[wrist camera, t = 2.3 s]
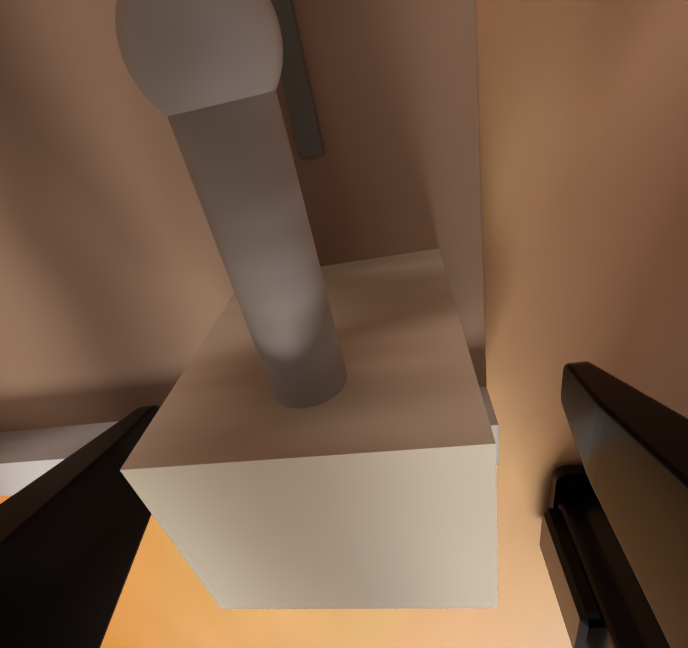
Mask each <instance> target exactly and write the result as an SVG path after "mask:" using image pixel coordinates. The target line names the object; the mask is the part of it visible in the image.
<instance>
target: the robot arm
mask: <svg viewBox="0 0 688 648" xmlns="http://www.w3.org/2000/svg"><path fill="white" fill-rule="evenodd" d="M561 401H562V405H563V408H564V411H565V414H566V417H567V420H568V423H569V426H570V428H571V431H572V434H573V437H574V440H575V443H576V446H577V449H578V451H579V454H580V457H581V460H582V463H583V465H568V466H562V467H559V468H557V469H556V470H555V471H554V472H553V474H552V482H551V493H550V504H549V508H546V509H545V511H544V512H543V514H542V526H541V538H540V547H541V551H542V554H543V557H544V560H545V563H546V566H547V569H548V572H549V576H550V579H551V582H552V585H553V588H554V591H555V594H556V597H557V600H558V604H559V607H560V610H561V613H562V616H563V619H564V622H565V625H566V629H567V632H568V635H569V638H570V641H571V644H572V647H573V648H688V419H687V418H686V417H684V416H682V415H680V414H679V413H677V412H675V411H673V410H672V409H670V408H668V407H666V406H665V405H663V404H661V403H659V402H658V401H656V400H654V399H652V398H651V397H649V396H647V395H645V394H644V393H642V392H640V391H639V390H637V389H635V388H633V387H632V386H630V385H628V384H626V383H625V382H623V381H621V380H619V379H618V378H616V377H614V376H612V375H611V374H609V373H607V372H605V371H604V370H602V369H600V368H598V367H597V366H595V365H593V364H592V363H589V362H575V363H567V364H566V365H565V366H564V369H563V378H562V388H561ZM159 409H160V406H158V405H146V406H141V407H139V408H137V409H136V410H134V411H133V412H131V413H130V414H129V415H127V416H126V417H124V418H123V419H121V420H120V421H119V422H117V423H116V424H114V425H113V426H111V427H110V428H109V429H107V430H106V431H104V432H103V433H101V434H100V435H99V436H97V437H96V438H94V439H93V440H91V441H90V442H89V443H87V444H86V445H84V446H83V447H81V448H80V449H78V450H77V451H76V452H74V453H73V454H71V455H70V456H68V457H67V458H66V459H64V460H63V461H61V462H60V463H58V464H57V465H56V466H54V467H53V468H51V469H50V470H48V471H47V472H46V473H44V474H43V475H41V476H40V477H38V478H37V479H36V480H34V481H33V482H31V483H30V484H28V485H27V486H26V487H24V488H23V489H21V490H20V491H18V492H17V493H16V494H14V495H13V496H11V497H10V498H8V499H7V500H5V501H4V502H3V503H1V504H0V648H100V647H101V644H102V641H103V639H104V636H105V634H106V631H107V628H108V626H109V623H110V621H111V618H112V615H113V613H114V610H115V608H116V605H117V602H118V600H119V597H120V595H121V592H122V589H123V587H124V584H125V582H126V579H127V576H128V574H129V571H130V569H131V566H132V563H133V561H134V558H135V556H136V553H137V550H138V548H139V545H140V543H141V540H142V537H143V535H144V532H145V530H146V527H147V524H148V522H149V519H150V517H151V512H150V511H149V510H148V508H147V507H146V505H145V504H144V503H143V501H142V500H141V499H140V497H139V496H138V494H137V493H136V492H135V490H134V489H133V488H132V486H131V485H130V484H129V482H128V481H127V479H126V478H125V477H124V475H123V474H122V473H121V471H120V469H121V467H122V466H123V464H124V463H125V461H126V460H127V458H128V457H129V455H130V454H131V452H132V450H133V449H134V447H135V446H136V444H137V443H138V441H139V440H140V438H141V437H142V435H143V433H144V432H145V430H146V429H147V427H148V426H149V424H150V423H151V421H152V420H153V418H154V416H155V415H156V413H157V412H158V410H159Z"/></svg>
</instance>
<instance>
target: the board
mask: <svg viewBox="0 0 688 648" xmlns="http://www.w3.org/2000/svg"><path fill="white" fill-rule="evenodd" d="M270 1H271V3H272V5H273V7H274V10H275V12H276V15H277V18H278V22H279V25H280V30H281V35H282V42H283V65H282V71H281V76H280V80H279V83H278V86H277V89H276V93H277V97H278V101H279V105H280V109H281V113H282V117H283V121H284V125H285V128H286V132H287V136H288V140H289V144H290V148H291V152H292V156H293V160H294V164H295V168H296V172H297V176H298V180H299V184H300V188H301V192H302V196H303V200H304V204H305V208H306V212H307V216H308V220H309V224H310V228H311V232H312V236H313V240H314V244H315V248H316V252H317V256H318V260H319V264H320V267H321V266H327V265H334V264H340V263H347V262H353V261H360V260H366V259H373V258H379V257H386V256H392V255H399V254H405V253H412V252H418V251H425V250H431V249H438V248H439V250H440V253H441V257H442V260H443V264H444V267H445V271H446V274H447V278H448V281H449V284H450V288H451V291H452V295H453V298H454V302H455V305H456V309H457V312H458V315H459V319H460V322H461V326H462V329H463V333H464V336H465V339H466V343H467V346H468V350H469V353H470V357H471V360H472V364H473V367H474V370H475V374H476V377H477V381H478V384H479V388H480V391H481V395H482V398H483V401H484V405H485V408H486V412H487V415H488V419H489V422H490V426H491V429H492V432H493V436H494V439H495V443H496V465H499V451H498V422H497V419H496V416H495V413H494V410H493V406H492V403H491V400H490V397H489V394H488V390H487V387H486V357H485V321H484V286H483V250H482V214H481V179H480V143H479V107H478V72H477V36H476V1H475V0H270ZM116 2H117V0H0V496H9V495H14V494H16V493H17V492H18V491H20V490H21V489H23V488H24V487H26V486H27V485H28V484H30V483H31V482H33V481H34V480H36V479H37V478H38V477H40V476H41V475H43V474H44V473H46V472H47V471H48V470H50V469H51V468H53V467H54V466H56V465H57V464H58V463H60V462H61V461H63V460H64V459H66V458H67V457H68V456H70V455H71V454H73V453H74V452H76V451H77V450H78V449H80V448H81V447H83V446H84V445H86V444H87V443H89V442H90V441H91V440H93V439H94V438H96V437H97V436H99V435H100V434H101V433H103V432H104V431H106V430H107V429H109V428H110V427H111V426H113V425H114V424H116V423H117V422H119V421H120V420H121V419H123V418H124V417H126V416H127V415H129V414H130V413H131V412H133V411H134V410H136V409H137V408H139V407H141V406H146V405H158V406H160V407H161V406H162V404H163V403H164V401H165V399H166V398H167V396H168V395H169V393H170V392H171V390H172V389H173V387H174V386H175V384H176V382H177V381H178V379H179V378H180V376H181V375H182V373H183V372H184V370H185V369H186V367H187V365H188V364H189V362H190V361H191V359H192V358H193V356H194V355H195V353H196V352H197V350H198V348H199V347H200V345H201V344H202V342H203V341H204V339H205V338H206V336H207V335H208V333H209V331H210V330H211V328H212V327H213V325H214V324H215V322H216V321H217V319H218V318H219V316H220V314H221V313H222V311H223V310H224V308H225V307H226V305H227V304H228V302H229V301H230V299H231V297H232V296H233V294H234V293H235V292H234V290H233V287H232V285H231V282H230V279H229V277H228V274H227V271H226V269H225V266H224V264H223V261H222V258H221V256H220V253H219V250H218V248H217V245H216V243H215V240H214V237H213V235H212V232H211V230H210V227H209V224H208V222H207V219H206V216H205V214H204V211H203V209H202V206H201V203H200V201H199V198H198V196H197V193H196V190H195V188H194V185H193V182H192V180H191V177H190V175H189V172H188V169H187V167H186V164H185V162H184V159H183V156H182V154H181V151H180V148H179V146H178V143H177V141H176V138H175V135H174V133H173V130H172V127H171V125H170V122H169V120H168V117H167V116H166V115H165V114H163V113H162V112H161V111H159V110H158V109H157V108H156V107H155V106H154V105H153V104H152V103H150V101H149V100H148V99H147V98H146V97H145V96H144V95H143V93H142V92H141V91H140V89H139V88H138V86H137V85H136V84H135V82H134V80H133V79H132V77H131V75H130V74H129V72H128V70H127V67H126V65H125V63H124V61H123V58H122V55H121V52H120V49H119V45H118V40H117V34H116V26H115V12H116Z"/></svg>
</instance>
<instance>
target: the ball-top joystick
mask: <svg viewBox="0 0 688 648" xmlns="http://www.w3.org/2000/svg"><path fill="white" fill-rule="evenodd" d="M115 26H116V34H117V40H118V45H119V49H120V52H121V55H122V58H123V61H124V63H125V65H126V67H127V70H128V72H129V74H130V75H131V77H132V79H133V80H134V82H135V84H136V85H137V86H138V88H139V89H140V91H141V92H142V93H143V95H144V96H145V97H146V98H147V99H148V100H149V101H150V103H152V104H153V105H154V106H155V107H156V108H157V109H158V110H159V111H161V112H162V113H163V114H165V115H166V116H167V117H168V120H169V122H170V125H171V127H172V130H173V133H174V135H175V138H176V141H177V143H178V146H179V148H180V151H181V154H182V156H183V159H184V162H185V164H186V167H187V169H188V172H189V175H190V177H191V180H192V182H193V185H194V188H195V190H196V193H197V196H198V198H199V201H200V203H201V206H202V209H203V211H204V214H205V216H206V219H207V222H208V224H209V227H210V230H211V232H212V235H213V237H214V240H215V243H216V245H217V248H218V250H219V253H220V256H221V258H222V261H223V264H224V266H225V269H226V271H227V274H228V277H229V279H230V282H231V285H232V287H233V290H234V292H235V293H234V294H233V296H232V297H231V299H230V301H229V302H228V304H227V305H226V307H225V308H224V310H223V311H222V313H221V314H220V316H219V318H218V319H217V321H216V322H215V324H214V325H213V327H212V328H211V330H210V331H209V333H208V335H207V336H206V338H205V339H204V341H203V342H202V344H201V345H200V347H199V348H198V350H197V352H196V353H195V355H194V356H193V358H192V359H191V361H190V362H189V364H188V365H187V367H186V369H185V370H184V372H183V373H182V375H181V376H180V378H179V379H178V381H177V382H176V384H175V386H174V387H173V389H172V390H171V392H170V393H169V395H168V396H167V398H166V399H165V401H164V403H163V404H162V406H161V407H160V409H159V410H158V412H157V413H156V415H155V416H154V418H153V420H152V421H151V423H150V424H149V426H148V427H147V429H146V430H145V432H144V433H143V435H142V437H141V438H140V440H139V441H138V443H137V444H136V446H135V447H134V449H133V450H132V452H131V454H130V455H129V457H128V458H127V460H126V461H125V463H124V464H123V466H122V467H121V469H120V471H121V473H122V474H123V475H124V477H125V478H126V479H127V481H128V482H129V484H130V485H131V486H132V488H133V489H134V490H135V492H136V493H137V494H138V496H139V497H140V499H141V500H142V501H143V503H144V504H145V505H146V507H147V508H148V510H149V511H150V512H151V514H152V515H153V516H154V518H155V519H156V521H157V522H158V523H159V525H160V526H161V527H162V529H163V530H164V531H165V533H166V534H167V536H168V537H169V538H170V540H171V541H172V542H173V544H174V545H175V547H176V548H177V549H178V551H179V552H180V553H181V555H182V556H183V558H184V559H185V560H186V562H187V563H188V564H189V566H190V567H191V569H192V570H193V571H194V573H195V574H196V575H197V577H198V578H199V579H200V581H201V582H202V584H203V585H204V586H205V588H206V589H207V590H208V592H209V593H210V595H211V596H212V597H213V599H214V600H215V601H216V603H217V604H218V606H219V607H220V608H221V609H399V608H498V569H497V497H496V443H495V439H494V436H493V432H492V429H491V426H490V422H489V419H488V415H487V412H486V408H485V405H484V401H483V398H482V395H481V391H480V388H479V384H478V381H477V377H476V374H475V370H474V367H473V364H472V360H471V357H470V353H469V350H468V346H467V343H466V339H465V336H464V333H463V329H462V326H461V322H460V319H459V315H458V312H457V309H456V305H455V302H454V298H453V295H452V291H451V288H450V284H449V281H448V278H447V274H446V271H445V267H444V264H443V260H442V257H441V253H440V250H439V248H438V249H431V250H425V251H418V252H412V253H405V254H399V255H392V256H386V257H379V258H373V259H366V260H360V261H353V262H347V263H340V264H334V265H327V266H321V267H320V264H319V260H318V256H317V252H316V248H315V244H314V240H313V236H312V232H311V228H310V224H309V220H308V216H307V212H306V208H305V204H304V200H303V196H302V192H301V188H300V184H299V180H298V176H297V172H296V168H295V164H294V160H293V156H292V152H291V148H290V144H289V140H288V136H287V132H286V128H285V125H284V121H283V117H282V113H281V109H280V105H279V101H278V97H277V93H276V89H277V86H278V83H279V80H280V76H281V71H282V65H283V42H282V35H281V30H280V25H279V22H278V18H277V15H276V12H275V10H274V7H273V5H272V3H271V1H270V0H117V2H116V12H115Z"/></svg>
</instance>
